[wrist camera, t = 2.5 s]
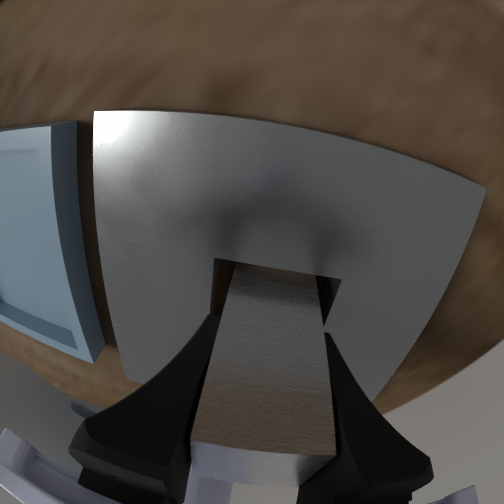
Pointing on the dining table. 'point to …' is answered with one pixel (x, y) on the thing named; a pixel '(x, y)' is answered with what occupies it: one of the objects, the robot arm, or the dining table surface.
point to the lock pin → (266, 384)
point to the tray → (45, 240)
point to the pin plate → (271, 229)
